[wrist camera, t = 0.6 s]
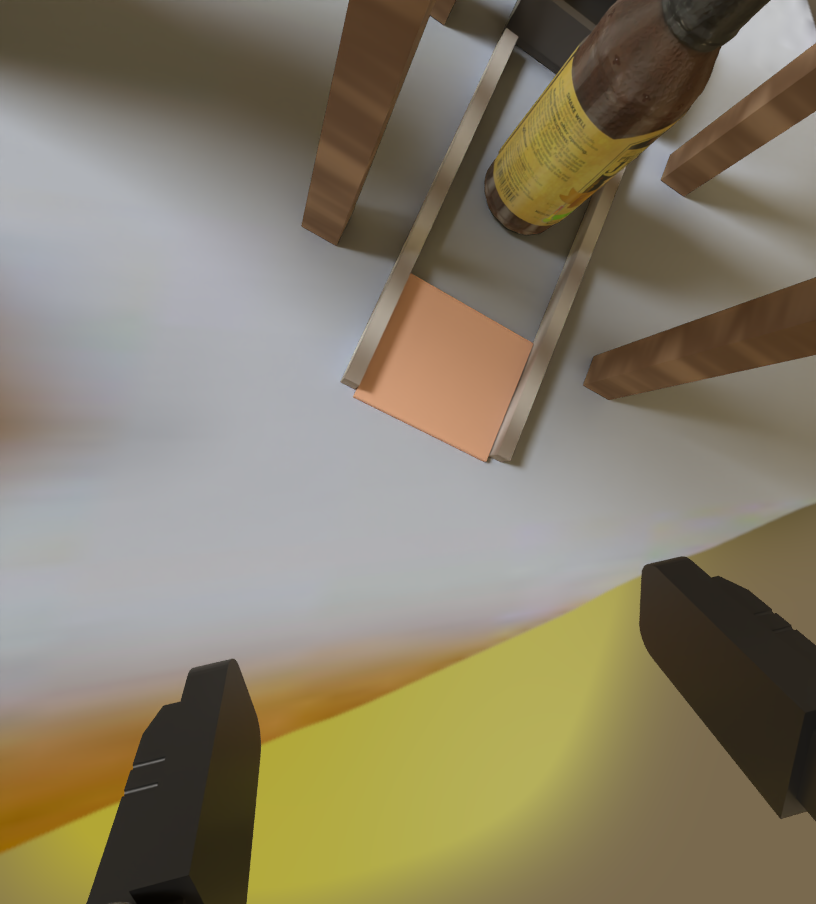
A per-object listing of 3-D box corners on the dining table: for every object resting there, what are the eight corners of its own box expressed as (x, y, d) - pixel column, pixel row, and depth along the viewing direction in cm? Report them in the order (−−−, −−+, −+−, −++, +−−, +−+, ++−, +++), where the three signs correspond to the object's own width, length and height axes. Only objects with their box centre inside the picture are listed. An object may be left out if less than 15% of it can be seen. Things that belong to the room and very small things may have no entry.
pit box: (632, 129, 41) (671, 93, 37) (501, 33, 38) (530, -17, 34) (668, 38, 42) (710, -6, 38) (545, -61, 39) (577, -119, 36)
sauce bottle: (539, 256, 38) (834, 32, 19) (466, 207, 36) (705, -89, 17) (572, 183, 39) (881, -98, 20) (502, 133, 38) (764, -223, 18)
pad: (483, 461, 36) (486, 461, 36) (353, 397, 34) (354, 396, 33) (530, 345, 37) (533, 343, 37) (408, 275, 35) (410, 272, 35)
